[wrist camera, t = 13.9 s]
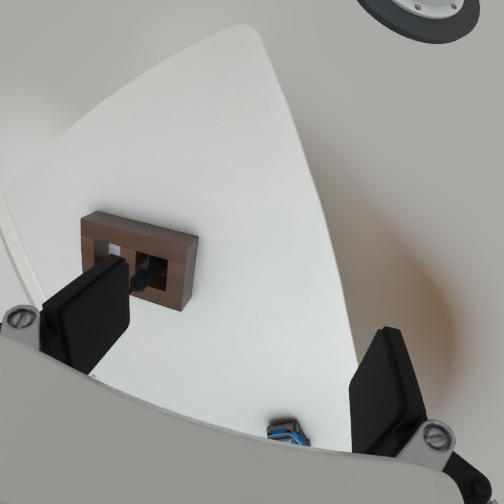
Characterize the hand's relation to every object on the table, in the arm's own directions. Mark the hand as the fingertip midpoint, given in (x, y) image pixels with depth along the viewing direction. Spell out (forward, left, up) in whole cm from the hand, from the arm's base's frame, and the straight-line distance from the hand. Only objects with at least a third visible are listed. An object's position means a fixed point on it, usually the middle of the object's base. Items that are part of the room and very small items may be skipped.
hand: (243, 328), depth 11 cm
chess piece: (+14, -15, -28) cm, 35 cm away
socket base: (+14, -19, -28) cm, 37 cm away
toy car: (+45, +12, -28) cm, 55 cm away
